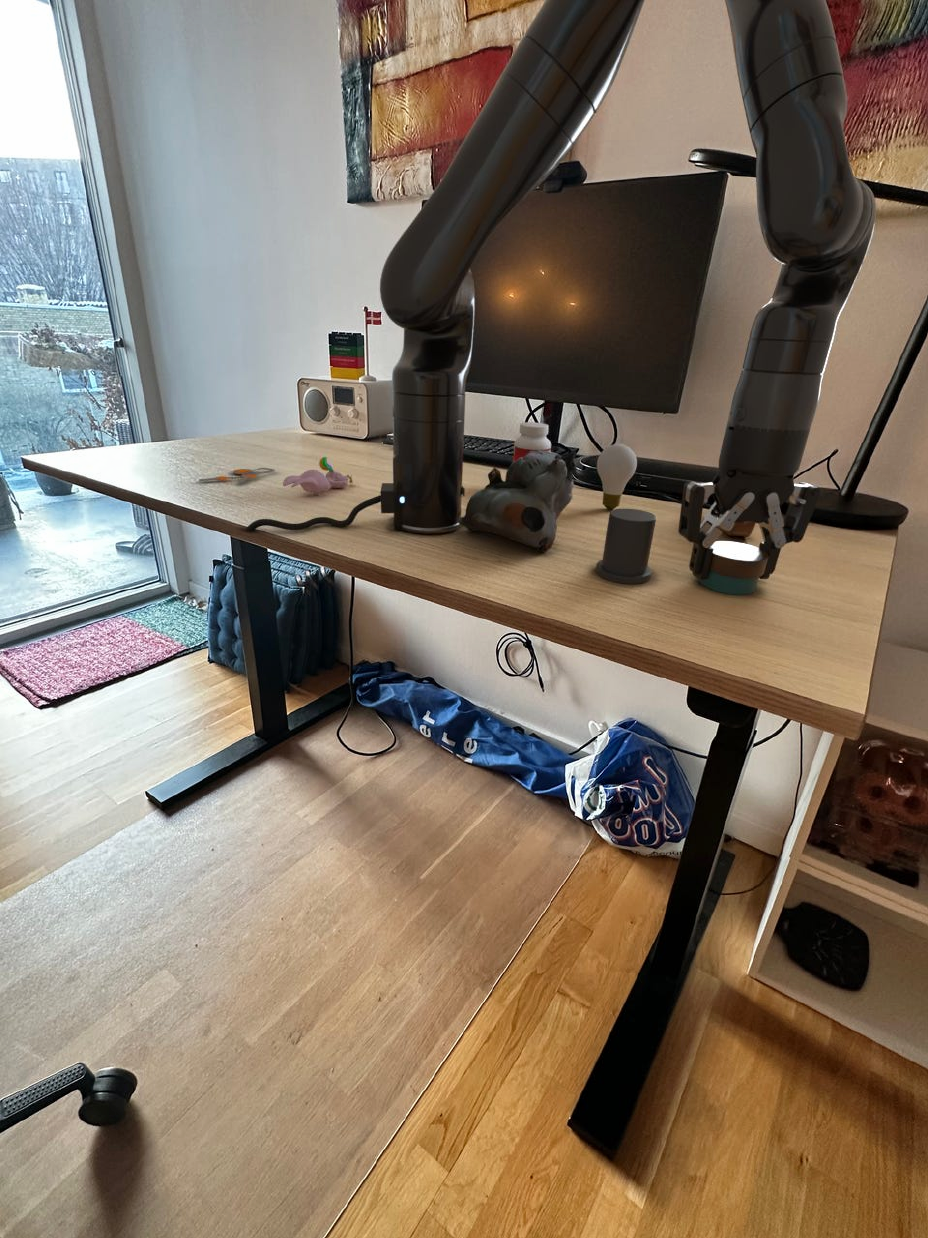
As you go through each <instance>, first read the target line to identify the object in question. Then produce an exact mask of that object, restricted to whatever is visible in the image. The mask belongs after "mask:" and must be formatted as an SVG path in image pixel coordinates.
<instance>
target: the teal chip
mask: <svg viewBox="0 0 928 1238" xmlns="http://www.w3.org/2000/svg"><path fill="white" fill-rule="evenodd" d="M759 579H760V578H759V577H757V578H734V577H728V576H724V575H720V574H717V573H714V572H712V571H710V570H709V571H708V575H707V578H706V579H698V578H697V580H698V582H699V584H701V585H702V586H704V587H705V588H707V589H709V590H712V591H714V592H717V593H721V594H726V595H735V596H736V595H737V596H743V595H744V596H745V595H750V594H752V593H754V592H755V591H756V589H757V586H758V583H759Z"/></svg>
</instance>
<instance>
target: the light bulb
mask: <svg viewBox="0 0 928 1238" xmlns="http://www.w3.org/2000/svg"><path fill="white" fill-rule="evenodd" d="M637 466H638V460H637V455H636V453H635V452H634V450H633V449H632V448H631V447H629V446H628V445H626V444H622V443H616V444H615V443H613V444H611V445H609V446H607V447H606V448H604V449H603V450H602V451H601V452H600V454H599V456H598V458H597V462H596V470H597V473H598V476H599V478H600V481H601V484H602V491H603V492H602V503H601V504H602V505H603V506H604V507H605V508H606V509H607V510H608V511H612V510H615V509H617V508H618V507H619V506H620V503H621V497H622V494H623V492H624V491H625V488H626V485H627V483H628V482H629V481H630V479H632V477H633V476H634V474H635V472H636V471H637Z"/></svg>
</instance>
